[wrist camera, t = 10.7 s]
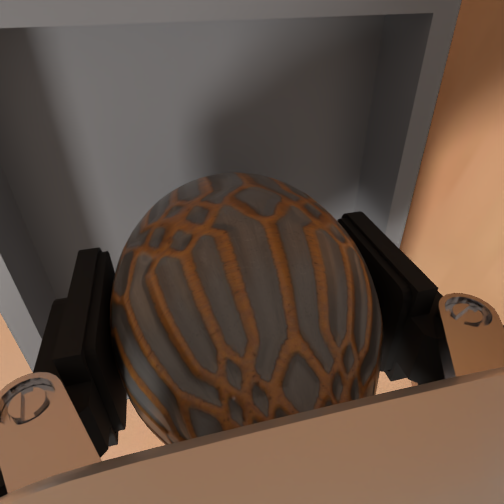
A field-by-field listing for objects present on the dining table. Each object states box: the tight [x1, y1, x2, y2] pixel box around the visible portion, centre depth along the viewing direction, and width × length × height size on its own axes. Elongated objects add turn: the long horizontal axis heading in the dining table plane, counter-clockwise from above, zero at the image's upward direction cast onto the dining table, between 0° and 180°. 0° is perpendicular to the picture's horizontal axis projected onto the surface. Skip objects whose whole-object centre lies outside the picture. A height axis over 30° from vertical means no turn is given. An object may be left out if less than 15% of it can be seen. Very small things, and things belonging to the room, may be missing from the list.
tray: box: [0, 0, 462, 399], centre depth 14 cm, size 15×15×3 cm
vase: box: [109, 172, 383, 445], centre depth 10 cm, size 7×7×9 cm
